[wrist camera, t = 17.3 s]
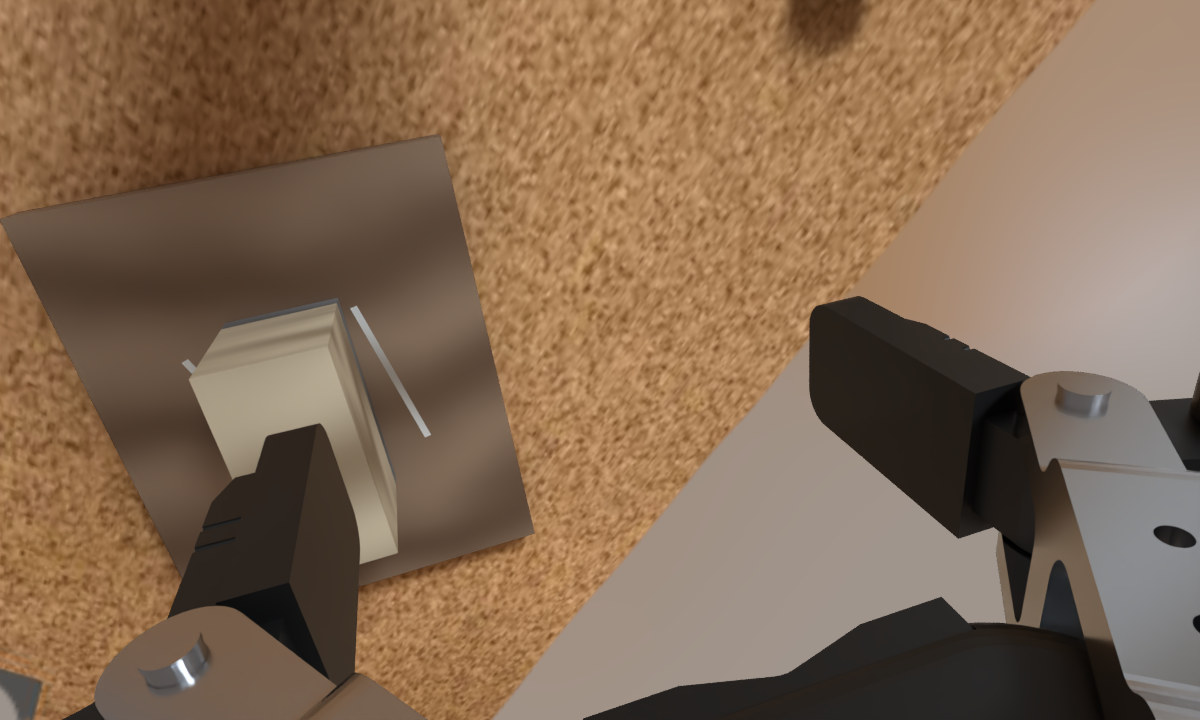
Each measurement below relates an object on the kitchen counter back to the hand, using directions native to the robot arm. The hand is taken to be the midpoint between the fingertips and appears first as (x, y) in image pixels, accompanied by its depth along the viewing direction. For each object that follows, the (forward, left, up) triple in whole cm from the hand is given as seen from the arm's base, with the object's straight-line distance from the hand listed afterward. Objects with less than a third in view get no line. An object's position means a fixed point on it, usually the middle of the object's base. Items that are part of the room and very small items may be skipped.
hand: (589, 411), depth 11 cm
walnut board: (+7, -8, -22) cm, 25 cm away
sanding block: (+7, -8, -21) cm, 23 cm away
